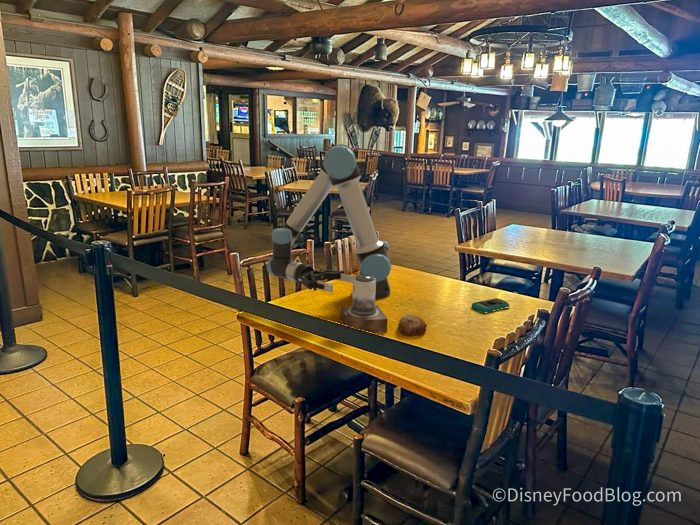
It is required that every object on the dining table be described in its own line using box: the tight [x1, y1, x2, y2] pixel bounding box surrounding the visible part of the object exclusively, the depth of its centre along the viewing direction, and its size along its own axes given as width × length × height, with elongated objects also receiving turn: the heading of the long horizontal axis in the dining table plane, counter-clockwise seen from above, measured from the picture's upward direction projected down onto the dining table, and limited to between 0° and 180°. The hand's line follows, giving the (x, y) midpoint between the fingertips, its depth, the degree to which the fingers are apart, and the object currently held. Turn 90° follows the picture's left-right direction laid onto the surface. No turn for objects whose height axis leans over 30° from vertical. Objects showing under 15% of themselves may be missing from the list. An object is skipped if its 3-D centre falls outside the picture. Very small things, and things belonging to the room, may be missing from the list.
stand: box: [339, 304, 388, 334], centre depth 179 cm, size 14×14×5 cm
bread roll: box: [396, 313, 428, 338], centre depth 176 cm, size 10×10×8 cm
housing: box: [350, 273, 376, 316], centre depth 177 cm, size 9×9×13 cm
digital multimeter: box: [471, 297, 510, 314], centre depth 202 cm, size 7×15×3 cm, turn 121°
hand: (344, 284), depth 182 cm, fingers open, 13 cm apart
